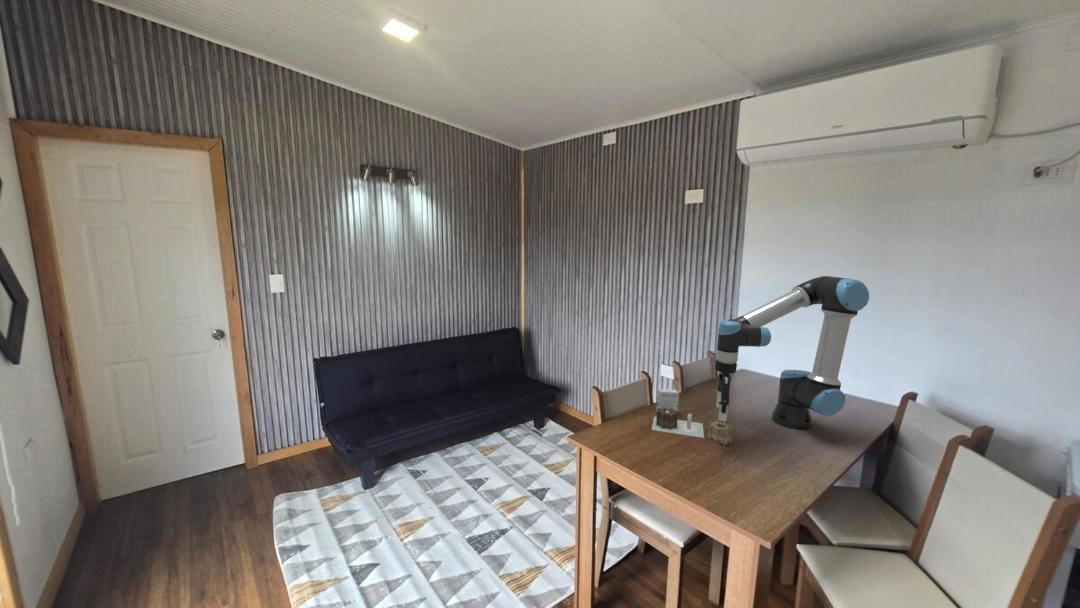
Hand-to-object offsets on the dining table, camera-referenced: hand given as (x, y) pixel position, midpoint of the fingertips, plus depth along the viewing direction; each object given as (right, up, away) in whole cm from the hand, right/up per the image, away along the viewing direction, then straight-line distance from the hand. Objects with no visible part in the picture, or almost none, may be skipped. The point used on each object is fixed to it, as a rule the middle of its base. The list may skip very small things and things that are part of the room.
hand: (720, 413), depth 165 cm
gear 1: (-18, -8, +12) cm, 23 cm away
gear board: (-14, -9, +11) cm, 20 cm away
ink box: (-14, -7, +24) cm, 29 cm away
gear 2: (0, -11, +2) cm, 11 cm away
